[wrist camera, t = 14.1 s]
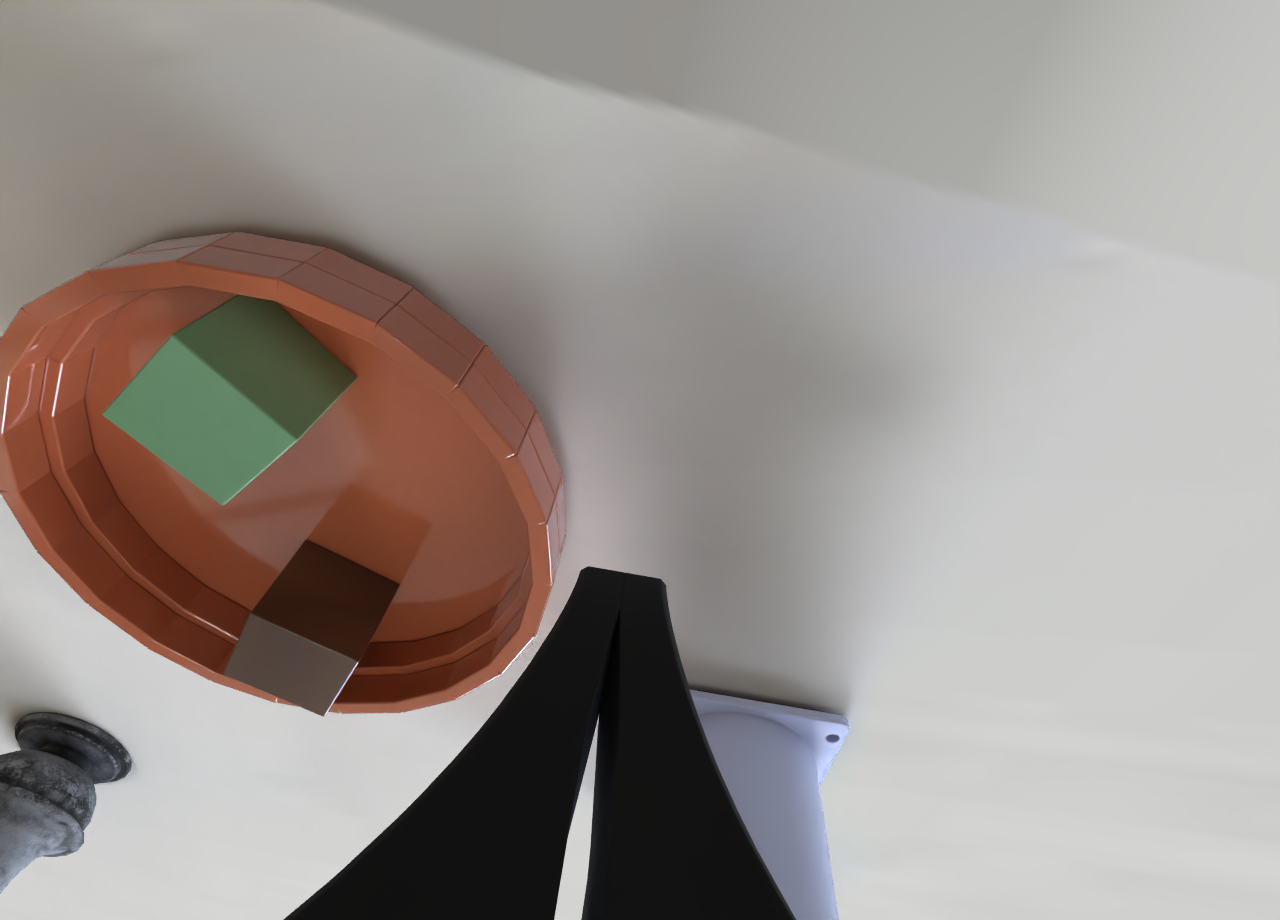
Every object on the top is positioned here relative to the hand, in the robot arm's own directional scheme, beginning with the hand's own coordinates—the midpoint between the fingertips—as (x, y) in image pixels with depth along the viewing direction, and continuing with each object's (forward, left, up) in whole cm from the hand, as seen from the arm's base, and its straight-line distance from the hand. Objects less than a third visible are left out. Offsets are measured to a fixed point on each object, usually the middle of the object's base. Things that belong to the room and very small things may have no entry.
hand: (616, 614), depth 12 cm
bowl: (-6, +10, -9) cm, 15 cm away
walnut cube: (-11, +10, -9) cm, 17 cm away
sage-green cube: (-2, +11, -9) cm, 14 cm away
